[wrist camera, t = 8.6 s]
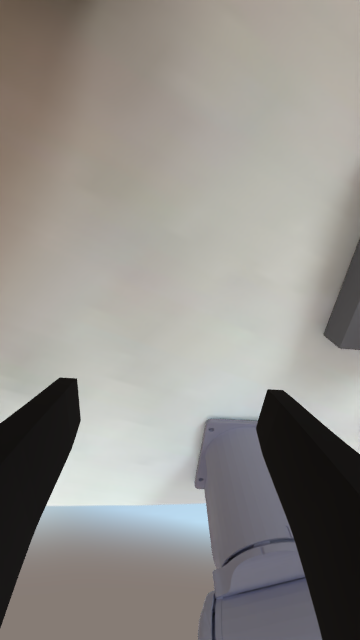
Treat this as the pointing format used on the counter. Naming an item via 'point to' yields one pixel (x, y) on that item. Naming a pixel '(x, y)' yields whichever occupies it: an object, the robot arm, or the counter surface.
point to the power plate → (347, 310)
